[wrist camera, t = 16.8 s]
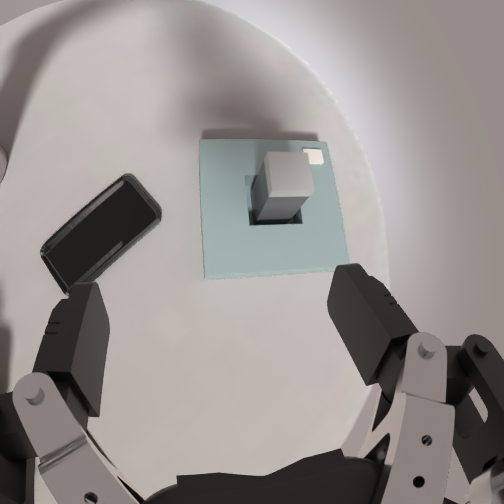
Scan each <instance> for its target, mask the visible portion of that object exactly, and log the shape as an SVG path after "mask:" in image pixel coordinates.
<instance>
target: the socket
mask: <svg viewBox="0 0 504 504" xmlns="http://www.w3.org/2000/svg"><path fill="white" fill-rule="evenodd" d="M267 152H307V153H308V157H309V162H310V167H311V172H312V178H313V183H314V188H315V190H314V192H313V193H312V194H311V195H310V197H309V198H308V199H307V200H306V201H305V203H304V204H303V205H302V206H301V207H300V209H299V210H298V211H297V212H296V214H295V215H294V216H293V217H292V218H291V220H290V221H289V222H288V223H287V224H280V225H254V224H253V214H252V205H251V195H250V194H251V191H252V189H253V186H254V184H255V181H256V178H257V176H258V173H259V171H260V168H261V166H262V163H263V160H264V158H265V155H266V153H267ZM199 175H200V203H201V226H202V245H203V262H204V278H205V280H216V279H232V278H247V277H262V276H276V275H289V274H303V273H315V272H328V271H335V268H336V267H337V266H338V265H343V264H350V263H349V256H348V249H347V243H346V237H345V231H344V225H343V219H342V214H341V208H340V203H339V198H338V193H337V188H336V183H335V178H334V173H333V168H332V164H331V159H330V155H329V150H328V146H327V142H319V141H302V140H277V139H200V140H199Z"/></svg>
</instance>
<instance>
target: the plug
mask: <svg viewBox="0 0 504 504" xmlns="http://www.w3.org/2000/svg"><path fill="white" fill-rule="evenodd" d="M314 190H315V188H314V183H313V178H312V172H311V167H310V162H309V157H308V153H307V152H267V153H266V155H265V158H264V160H263V163H262V166H261V168H260V171H259V173H258V176H257V178H256V181H255V184H254V186H253V189H252V191H251V194H250V195H251V205H252V214H253V224H254V225H280V224H287V223H288V222H289V221H290V220H291V218H292V217H293V216H294V215H295V214H296V212H297V211H298V210H299V209H300V207H301V206H302V205H303V204H304V203H305V201H306V200H307V199H308V198H309V197H310V195H311V194H312V193H313V192H314Z"/></svg>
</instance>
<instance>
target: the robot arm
mask: <svg viewBox="0 0 504 504" xmlns="http://www.w3.org/2000/svg"><path fill="white" fill-rule="evenodd" d="M6 166H7V156H6V153H5V151H4V150H3V149H2V147H1V146H0V182H1V180H2V178H3V176H4V173H5V170H6ZM327 307H328V312H329V315H330V317H331V319H332V321H333V323H334V325H335V327H336V328H337V330H338V332H339V334H340V336H341V338H342V340H343V342H344V344H345V346H346V347H347V349H348V351H349V353H350V355H351V357H352V359H353V361H354V363H355V365H356V367H357V369H358V371H359V373H360V375H361V377H362V379H363V380H364V382H365V384H366V386H368V385H372V384H375V383H379V385H380V387H381V388H380V390H379V391H378V395H377V399H376V403H375V406H374V410H373V414H372V418H371V422H370V425H369V429H368V432H367V435H366V438H365V440H364V442H363V444H362V446H361V447H360V449H359V452H358V454H357V456H356V457H347V456H346V457H344V455H343V452H342V450H341V448H340V449H337V450H333V451H330V452H326V453H322V454H318V455H314V456H310V457H306V458H303V459H301V460H299V461H297V462H295V463H293V464H291V465H289V466H286V467H284V468H282V469H280V470H278V471H276V472H273V473H271V474H269V475H266V476H251V475H238V474H227V473H209V474H196V475H179V476H177V484H175V485H171V486H169V487H166V488H164V489H161V490H160V491H158V492H156V493H154V494H153V495H151V496H150V497H149V498H147V499H145V498H144V497H143V496H142V495H141V494H140V493H139V492H138V490H137V489H136V488H135V487H134V486H133V485H132V484H131V483H130V482H129V481H128V480H127V479H126V478H125V476H124V475H123V474H122V473H121V472H120V471H119V469H118V468H117V467H116V466H115V464H114V463H113V462H112V461H111V459H110V458H109V457H108V456H107V454H106V453H105V452H104V450H103V449H102V448H101V446H100V445H99V443H98V442H97V441H96V439H95V438H94V436H93V435H92V434H91V432H90V431H89V429H88V428H87V423H88V417H99V416H100V404H101V394H102V385H103V376H104V368H105V361H106V354H107V347H108V341H109V334H110V325H109V318H108V315H107V312H106V309H105V305H104V302H103V299H102V296H101V292H100V289H99V286H98V284H97V283H96V282H84V283H75V284H74V285H73V287H72V290H71V292H70V295H69V298H68V299H61V301H60V302H59V303H58V304H57V305H56V306H55V308H54V309H53V310H52V313H51V315H50V318H49V321H48V325H47V327H46V329H45V335H43V338H42V341H41V345H40V348H39V351H38V354H37V357H36V361H35V364H34V368H33V371H32V373H30V374H28V375H26V376H24V377H23V378H21V379H20V380H19V381H18V383H17V384H16V386H15V388H14V390H13V392H9V393H5V394H0V504H34V473H35V457H39V459H40V462H41V464H39V465H38V469H39V472H40V474H41V476H42V478H43V480H44V481H45V483H46V485H47V487H48V488H49V490H50V491H51V493H52V495H53V496H54V498H55V500H56V501H57V503H58V504H457V503H456V502H453V501H451V500H449V499H447V498H445V497H444V495H445V490H446V485H447V478H448V473H449V466H450V459H451V451H452V445H453V448H454V450H455V452H456V454H457V456H458V458H459V461H460V463H461V465H462V468H463V470H464V472H465V474H466V477H467V479H468V482H469V484H470V488H469V492H468V493H467V494H466V495H465V498H464V502H465V504H504V360H503V359H502V357H501V356H500V354H499V353H498V351H497V350H496V349H495V347H494V346H493V344H492V343H491V342H490V341H489V340H487V339H486V338H485V337H483V336H480V335H476V334H473V335H470V336H468V337H467V338H466V340H465V341H464V343H463V344H462V346H444V344H443V343H442V342H441V340H440V339H438V338H437V337H436V336H434V335H432V334H429V333H424V332H419V331H418V330H417V328H416V327H415V326H414V324H413V323H412V321H411V320H410V319H409V317H408V316H407V315H406V313H405V312H404V311H403V309H402V308H401V307H400V305H399V304H397V301H396V300H395V299H394V297H393V296H391V293H390V292H389V291H388V289H387V288H386V287H385V286H384V284H383V283H381V282H380V281H378V280H377V279H376V278H374V277H373V276H369V275H368V274H367V273H366V272H365V270H364V269H363V268H362V266H361V265H360V264H358V263H354V264H343V265H338V266H337V267H336V268H335V271H334V275H333V280H332V284H331V288H330V292H329V296H328V300H327ZM474 387H475V389H476V390H477V392H478V394H479V395H480V397H481V399H482V400H483V402H484V404H485V405H486V408H487V411H488V417H487V420H486V422H485V423H484V422H483V420H482V418H481V416H480V414H479V412H478V410H477V409H476V407H475V405H474V403H473V401H472V400H471V398H470V396H469V393H470V392H471V391H472V390H473V388H474Z"/></svg>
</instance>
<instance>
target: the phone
mask: <svg viewBox="0 0 504 504" xmlns="http://www.w3.org/2000/svg"><path fill="white" fill-rule="evenodd" d="M160 221H161V213H160V211H159V209H158V208H157V207H156V206H155V205H154V204H153V202H152V201H151V200H150V199H149V198H148V197H147V195H146V194H145V193H144V192H143V191H142V189H141V188H140V187H139V186H138V185H137V183H136V182H135V181H134V180H133V179H132V178H131V177H129V176H124V177H121V178H120V179H118V180H117V181H116V182H115V183H113V184H112V185H111V186H110V187H108V188H107V189H106V190H105V191H103V192H102V193H101V194H100V195H99V196H97V197H96V198H95V199H94V200H93V201H91V202H90V203H89V204H88V205H87V206H85V207H84V208H83V209H82V210H81V211H80V212H79V213H77V214H76V215H75V216H74V217H73V218H72V219H71V220H69V221H68V222H67V223H66V224H65V225H64V226H63V227H62V228H61V229H60V230H58V231H57V232H56V233H55V234H54V235H53V236H52V237H51V238H50V239H49V240H48V241H47V242H46V243H45V244H44V245H43V246H42V248H41V251H40V255H41V258H42V260H43V261H44V263H45V264H46V266H47V268H48V269H49V271H50V273H51V274H52V276H53V277H54V279H55V280H56V282H57V283H58V285H59V287H60V288H61V290H62V291H63V293H64V294H65V295H67V296H69V295H70V292H71V290H72V287H73V285H74V284H75V283H84V282H93V281H94V280H95V279H96V278H98V277H99V276H100V275H101V274H102V273H103V272H104V271H105V270H106V269H107V268H108V267H109V266H110V265H112V264H113V263H114V262H115V261H116V260H117V259H118V258H119V257H121V256H122V255H123V254H124V253H125V252H126V251H128V250H129V249H130V248H131V247H132V246H133V245H135V244H136V243H137V242H138V241H139V240H140V239H142V238H143V237H144V236H145V235H146V234H148V233H149V232H150V231H151V230H152V229H154V228H155V227H156V226H157V225H158V224H159V223H160Z"/></svg>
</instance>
